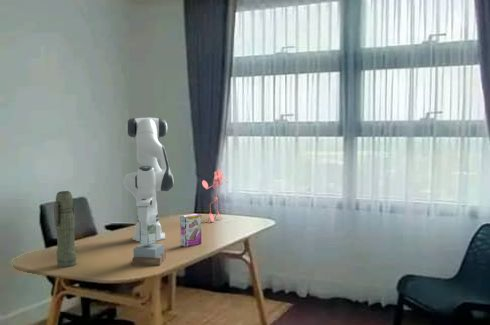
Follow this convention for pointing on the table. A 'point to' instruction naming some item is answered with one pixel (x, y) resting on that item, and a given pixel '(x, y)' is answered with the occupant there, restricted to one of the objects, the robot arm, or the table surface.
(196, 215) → the candy bar box
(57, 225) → the thermos
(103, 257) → the table surface
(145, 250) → the tower top
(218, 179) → the figurine
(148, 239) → the syrup box
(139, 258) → the tower bottom
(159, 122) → the robot arm
